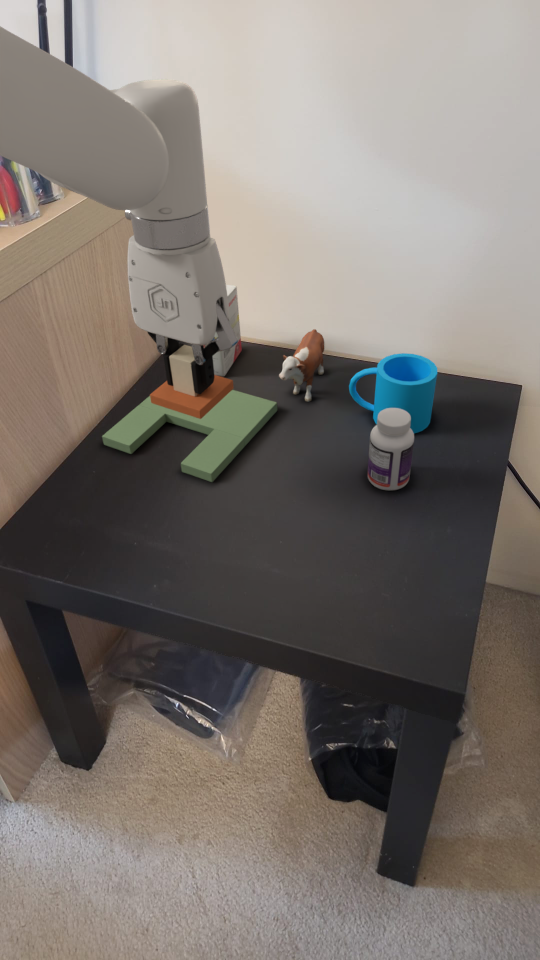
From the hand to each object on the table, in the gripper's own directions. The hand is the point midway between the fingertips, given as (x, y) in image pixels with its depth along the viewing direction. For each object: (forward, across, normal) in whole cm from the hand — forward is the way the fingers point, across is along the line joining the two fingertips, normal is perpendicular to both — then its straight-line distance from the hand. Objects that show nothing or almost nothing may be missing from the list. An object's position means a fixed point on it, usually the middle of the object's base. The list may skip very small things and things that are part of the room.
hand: (191, 382), depth 79 cm
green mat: (+15, -8, +9) cm, 20 cm away
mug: (+15, +16, +25) cm, 33 cm away
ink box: (+15, -14, +26) cm, 34 cm away
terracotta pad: (+2, 0, 0) cm, 2 cm away
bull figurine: (+16, +2, +25) cm, 30 cm away
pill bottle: (+15, +21, +12) cm, 28 cm away
